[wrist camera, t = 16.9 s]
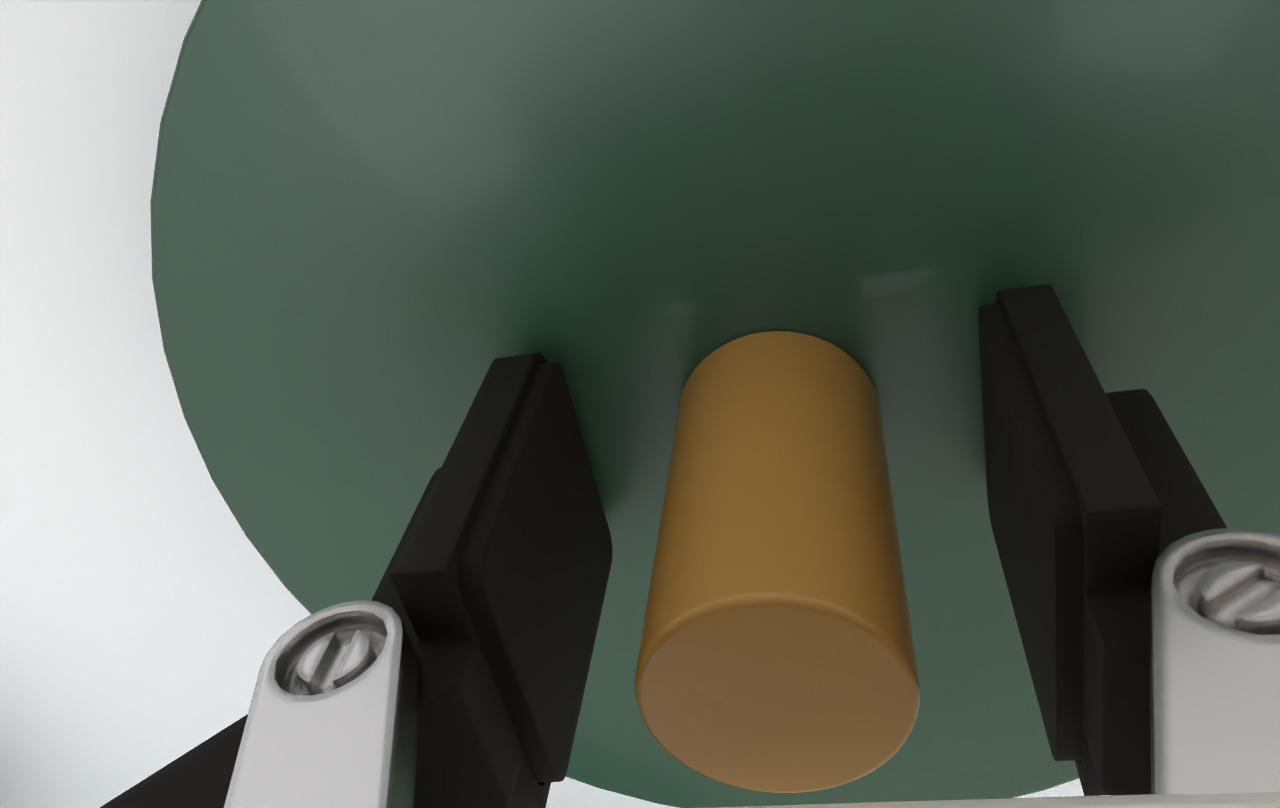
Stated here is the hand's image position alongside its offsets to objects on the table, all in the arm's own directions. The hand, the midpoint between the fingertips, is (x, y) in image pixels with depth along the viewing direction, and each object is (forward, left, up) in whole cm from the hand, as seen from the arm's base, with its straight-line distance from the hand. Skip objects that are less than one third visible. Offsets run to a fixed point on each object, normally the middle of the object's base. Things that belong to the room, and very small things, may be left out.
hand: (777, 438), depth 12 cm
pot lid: (0, 0, -1) cm, 1 cm away
